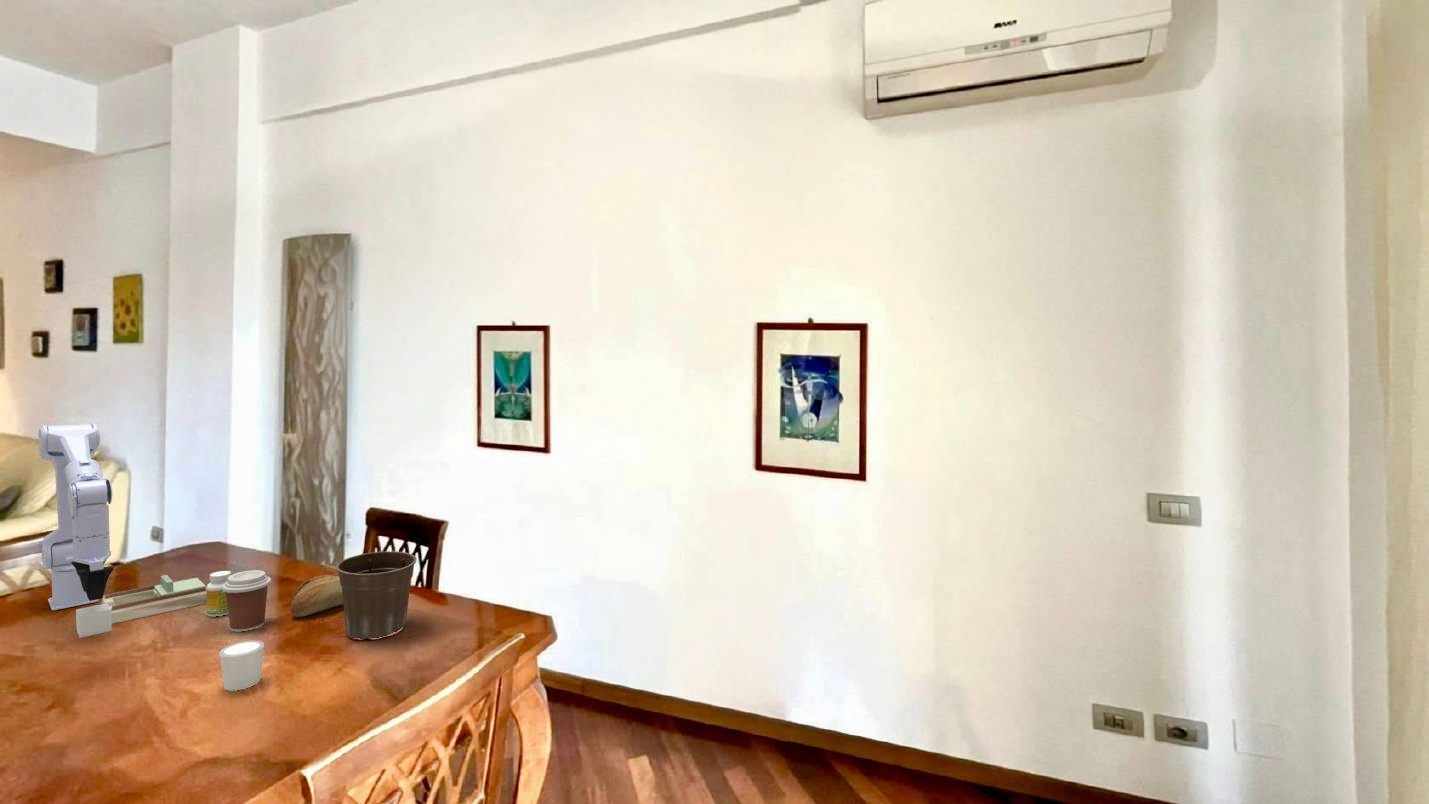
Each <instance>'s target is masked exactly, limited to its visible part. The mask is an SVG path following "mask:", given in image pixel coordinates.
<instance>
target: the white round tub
mask: <svg viewBox="0 0 1429 804" xmlns="http://www.w3.org/2000/svg"><path fill="white" fill-rule="evenodd" d="M264 648H265V643H264V642H263V641H261V640H245V641H244V640H243V641H240V642H235V643H232V644H229V645H227V646H225V647H224V648H222V649H221V650H220V651H219V653H218V654H219V655H218V656H219V661H220V669H221V674H222V675H221V676H222V683H223V690H225V689H226V690H225V691H227V690H228V691H227V692H238V691H237V690H240V689H244V690H247V689H246V688H248V687H250V688H252V687H251V686H253V685H254V684H256V685H258V684H259V683H260V682H259V680H260V679H262V670H263V662H264V661H263V659H264V650H265V649H264ZM258 682H259V683H258ZM257 683H258V684H257ZM253 687H254V686H253ZM248 689H249V688H248ZM234 690H235V691H234ZM240 691H241V690H240Z"/></svg>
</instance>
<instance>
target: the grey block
mask: <svg viewBox="0 0 1429 804" xmlns="http://www.w3.org/2000/svg"><path fill="white" fill-rule="evenodd" d="M75 615H76V618H75V619H76V620H75V621H76V622H75V623H76V624H75V625H76V633H77V635H78V637H79V638H80V639H81V638H86V637H90V636H95V635H99V634H104V633H108V632H112V631H113V630H112V626H113V624H112V622H111V608H110V607H109V605H108V603H106V604H101V603H100V604H96V605H92V606H87V607H86V606H85V607H81V608H78V609H77V608H76V609H75Z"/></svg>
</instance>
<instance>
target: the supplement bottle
mask: <svg viewBox="0 0 1429 804" xmlns="http://www.w3.org/2000/svg"><path fill="white" fill-rule="evenodd" d="M231 575H232V571H229V570H220V571H216V572H215V571H214V572H212V573H210V574H209V581H210V582H209V583H207V585H206V596H207V597H206V598H207V603H206V616H208V617H211V618H215V617H216V616H219V617H224V616H223V615H225V616H227V615H228V608H227V600H226V592H223V591H222V585H223V584H224V583H226V582H227V578H228V577H229V576H231ZM216 618H217V617H216Z"/></svg>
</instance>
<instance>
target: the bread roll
mask: <svg viewBox="0 0 1429 804" xmlns="http://www.w3.org/2000/svg"><path fill="white" fill-rule="evenodd" d="M342 604H343V605H344V603H343V593H342V586H341V585H340V579H339V575H336V574H324V575H318V576H314V577H312V578H310V579H307V580H305V581H303V582H302V583H301V584H300V585H299V586H298V587H297V589H296V591H295V592H294V594H293V596H292V600H291V602H290V605H291V606H290V612H291V615H293V616H294V617H295V618H297V617H298V618H300V617H301V618H302V617H306V616H310V615H312V614H317V613H320V612H323V611H325V610H329V609H332V607H333V608H336V607H339V605H340V606H343V605H342ZM335 606H336V607H335Z"/></svg>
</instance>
